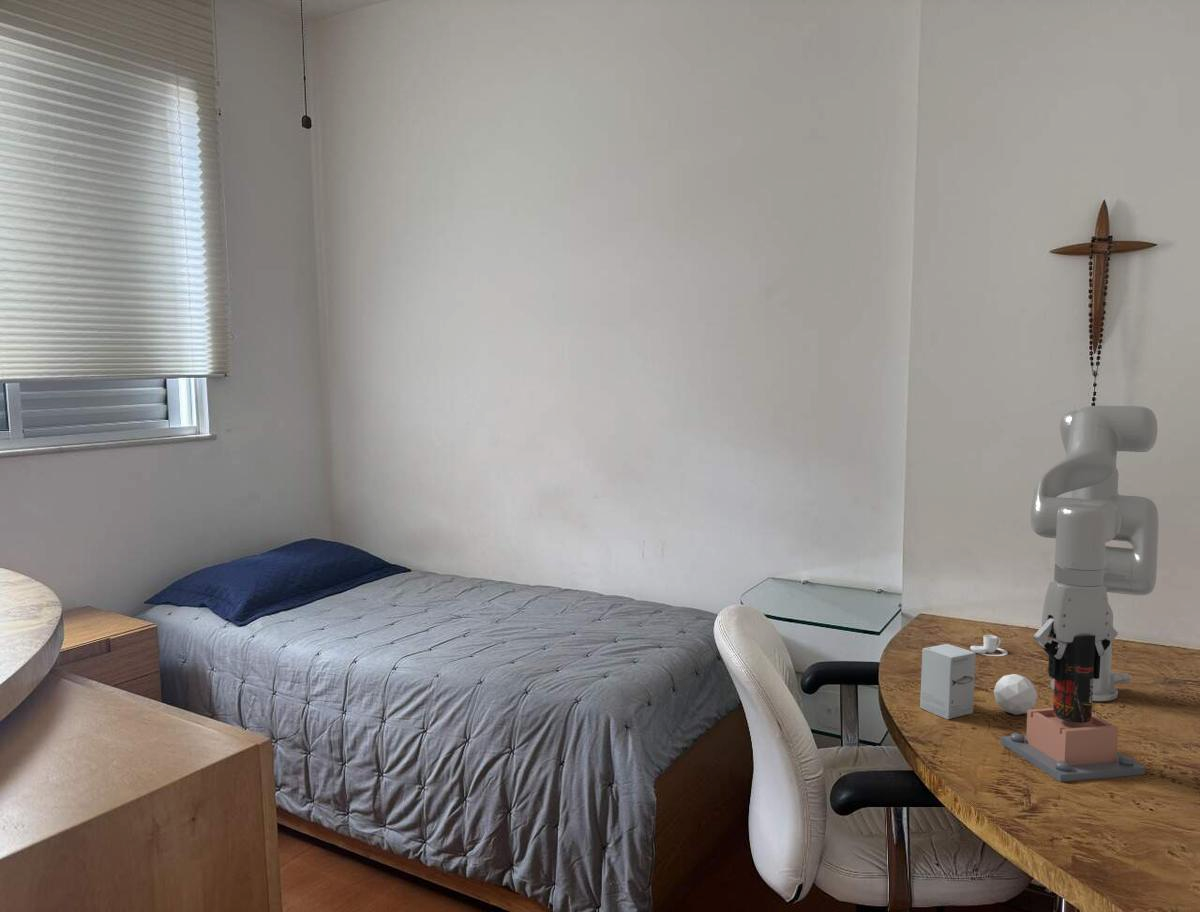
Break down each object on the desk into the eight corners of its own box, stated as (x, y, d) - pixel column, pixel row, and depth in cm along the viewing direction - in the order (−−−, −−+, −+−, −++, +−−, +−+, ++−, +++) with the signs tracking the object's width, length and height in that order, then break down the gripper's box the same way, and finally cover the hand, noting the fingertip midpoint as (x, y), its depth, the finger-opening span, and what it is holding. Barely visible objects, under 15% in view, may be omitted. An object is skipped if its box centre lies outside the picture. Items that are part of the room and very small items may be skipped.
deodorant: (1052, 707, 159) (1056, 626, 158) (1090, 713, 156) (1094, 630, 155) (1053, 719, 154) (1057, 635, 152) (1092, 725, 151) (1096, 639, 150)
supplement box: (948, 720, 173) (950, 657, 171) (918, 708, 179) (920, 647, 178) (974, 714, 176) (977, 652, 175) (944, 702, 182) (946, 642, 181)
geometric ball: (1018, 723, 178) (1041, 690, 179) (1025, 723, 171) (1048, 689, 172) (983, 699, 181) (1005, 667, 182) (988, 698, 174) (1011, 664, 175)
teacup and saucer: (972, 656, 214) (972, 640, 213) (966, 646, 222) (966, 630, 221) (1011, 659, 212) (1011, 642, 212) (1003, 649, 220) (1004, 633, 219)
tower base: (1078, 736, 165) (1079, 699, 164) (1145, 774, 149) (1147, 733, 148) (1000, 742, 162) (1002, 704, 161) (1060, 781, 146) (1062, 739, 146)
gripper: (1106, 569, 158) (1101, 667, 160) (1019, 573, 155) (1015, 673, 157) (1139, 579, 151) (1133, 681, 152) (1048, 583, 148) (1043, 688, 149)
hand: (1073, 676), depth 154 cm, fingers open, 6 cm apart
